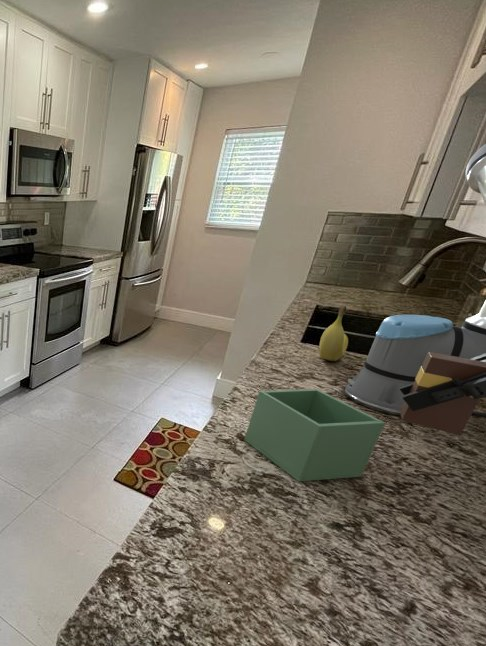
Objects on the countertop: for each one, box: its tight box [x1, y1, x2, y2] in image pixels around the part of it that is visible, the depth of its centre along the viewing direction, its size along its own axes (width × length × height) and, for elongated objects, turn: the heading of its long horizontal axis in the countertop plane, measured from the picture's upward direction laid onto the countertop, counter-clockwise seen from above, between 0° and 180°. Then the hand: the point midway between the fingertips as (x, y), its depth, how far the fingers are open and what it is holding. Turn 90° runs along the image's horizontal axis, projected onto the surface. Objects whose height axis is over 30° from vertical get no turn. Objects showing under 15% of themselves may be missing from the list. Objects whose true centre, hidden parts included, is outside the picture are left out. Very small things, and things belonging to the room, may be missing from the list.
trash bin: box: [243, 388, 386, 482], centre depth 81 cm, size 14×14×12 cm
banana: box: [318, 305, 349, 362], centre depth 132 cm, size 23×6×20 cm, turn 130°
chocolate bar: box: [400, 352, 486, 436], centre depth 68 cm, size 4×7×12 cm, turn 50°
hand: (406, 399), depth 72 cm, fingers closed on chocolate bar, 4 cm apart
